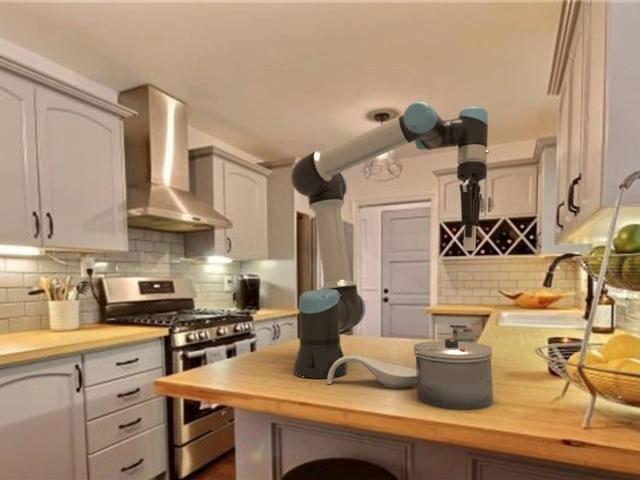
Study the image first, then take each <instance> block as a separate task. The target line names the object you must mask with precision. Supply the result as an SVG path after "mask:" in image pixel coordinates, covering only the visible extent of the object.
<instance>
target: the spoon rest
mask: <svg viewBox="0 0 640 480" xmlns="http://www.w3.org/2000/svg"><path fill="white" fill-rule="evenodd" d="M345 362H346V363H347V362H355V363H358V364H360V365H362V366H363V367H365V368H366V370H368V371H369V373H371V375H373V376H374V377H375V379H376V380H377V381H378V382H380V383H381V384H382V386H384V387H387V388H391V389H392V388H393V389H404V388H408V387H410V386H412V385H415V384H416V383H417V378H416V368H413V367H410V366H409V367H408V366H405V365H397V364H392V363H386V362H382V361H379V360H376V359H373V358H369V357H365V356H363V355H356V354H350V355H344V357H342V358H340V359H338V360H337V361H336V362H335V363H334V364H333V365H332V367H331V368H330V370H329V373H328V378H326V384H327V385H328V384H330V385H332V384H333V382H334V378H335V377H334V373H335V370H336V368H337V367H338V366H339V365H341V364H342V363H345Z"/></svg>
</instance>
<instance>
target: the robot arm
mask: <svg viewBox="0 0 640 480" xmlns="http://www.w3.org/2000/svg"><path fill="white" fill-rule="evenodd" d="M488 130H489V123H488V111H487V110H486V109H485V108H484V107H480V106H467V107H466V108H463V109H461V110H460V112H459V114H458V117H457V118H453V119H448V120H447V119H446V120H443V119H442V118H441V117H440V116H439V114H438V113H437V111H436V110H435V108H434V107H432V106H431V105H430V104H428V103H427V102H424V101H415V102H413V103H411V104H409V106H408V107H407V108H406V109H405V110H404V112H403V114H402V115H401V116H398V117H396V118H393V119H391V120H389V121H387V122H385V123H383V124H381V125H379V126H376V127H374V128H372V129H369V130H367V131H366V132H363V133H361V134H359V135H357V136H355V137H352V138H350V139H348V140H346V141H344V142H341V143H339V144H337V145H335V146H333V147H331V148H328V149H326V150H323V151H321V150H316V151H314V152H311V153H309V154H307V155H305V156H303V157H302V158H300V160H299V161H297V162H296V163H295V165H294V167H293V168H292V171H291V177H290V178H291V179H290V180H291V183H292V186H293V188H294V190H295V191H297V193H298V194H300V195H302V196H305V197H307V199H308V207H309V209H310V210H311V211H313V212H314V216H315V222H316V231H317V239H318V244H319V252H320V253H319V254H320V260H321V268H322V277H323V282H324V283H323V285H322V287H321V288H320V289H316V290H315V289H313V290H309V291H305V292H303V293H301V294H300V296H299V300H298V301H299V303H298V310H299V311H298V312H299V313H298V314H299V315H298V316H299V317H298V318H299V320H298V323H299V347H298V351H297V354H296V358H295V361H294V364H293V374H294V373H295V374H297V375H300V376H304V377H311V378H310V379H315V378H322V379H327V378H328V373H329V370H330V368H331V367H332V365H333V364H334V363H335V362H336V361H337V360H338V359H340V358H342V357H344V356H345V355H344V353H343V350H342V346H341V331H343V330H350V329H352V328H354V327H356V326H358V325H359V324H360V323H361V321H363V319H364V316H365V314H366V303H365V301H364V299H363V297H362V296H361V295H360V294H359V293H358V287H357V283H355V282H354V281H352V278H351V273H350V266H349V259H348V252H347V246H346V245H347V244H346V238H345V233H344V231H345V230H344V225H343V218H342V210H341V208H342V206H343V205H345V200H344V198H345V195H346V193H347V191H348V190H347V189H348V183H347V179H346V177H345V176H344V174H343V173H342V172H345V171H347V170H349V169H352V168H353V167H357V166H359V165H361V164H363V163H366V162H368V161H370V160H371V161H372V160H373V159H375V158H377V157H380V156H382V155H385V154H386V153H389V152H391V151H394V150H396V149H399V148H401V147H403V146H405V145H407V144H408V145H409V144H410V143H413V142H414V144H415V145H416V146H415V147H416V148H417V149H418V150H420V151H421V150H422V151H425V150H426V151H427V150H428V151H432V150H437V149H443V148H444V149H445V148H453V147H457V159H456V160H457V163H456V164H458V165H457V167H456V168H457V169H456V178H457V179H458V181H461V182H462V183H460V184H459V191H460V210H461V213H460V214H461V222H460V226H463V251H465V252H466V251H467V252H468V251H469V252H471V251H472V252H474V251H476V246H477V245H476V244H477V243H476V242H477V241H476V240H477V238H476V237H477V227H480V224H479V221H480V211H481V201H482V198H483V195H482V193H481V188H482V187H481V185H480V183H479V182H481V181H483V180H485V179H486V178H487V177H488V176H487V173H488V172H487V171H488V168H487V167H488V166H487V162H488V161H487V160H488V156H487V155H489V154H490V151H489V150H488V132H489V131H488ZM347 373H348V367H347V362H345V363H342V364H341V365H339V366H338V367H337V368H336V370H335V373H334V378H338V377H337V376H339V377H341V375H342V376H345V375H346V374H347ZM295 374H294V375H295ZM297 375H296V376H297ZM304 377H303V378H304Z"/></svg>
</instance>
